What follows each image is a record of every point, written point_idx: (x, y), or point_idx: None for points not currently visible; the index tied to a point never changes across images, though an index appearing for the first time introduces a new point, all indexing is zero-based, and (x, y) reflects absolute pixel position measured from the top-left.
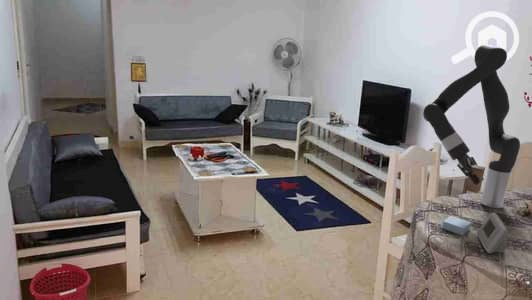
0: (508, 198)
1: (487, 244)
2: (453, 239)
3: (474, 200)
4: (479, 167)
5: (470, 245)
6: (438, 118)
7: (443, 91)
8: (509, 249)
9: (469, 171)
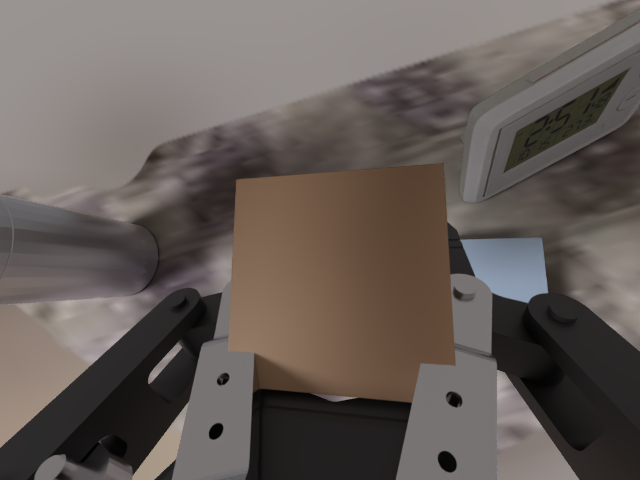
0: None
1: (619, 118)
2: (606, 256)
3: (130, 317)
4: (337, 244)
5: (596, 190)
6: None
7: None
8: (488, 91)
9: (625, 345)
